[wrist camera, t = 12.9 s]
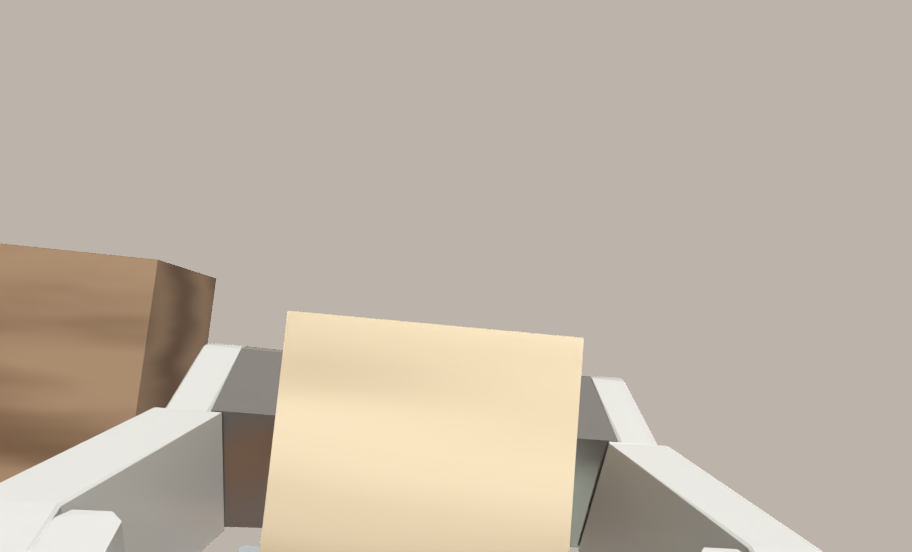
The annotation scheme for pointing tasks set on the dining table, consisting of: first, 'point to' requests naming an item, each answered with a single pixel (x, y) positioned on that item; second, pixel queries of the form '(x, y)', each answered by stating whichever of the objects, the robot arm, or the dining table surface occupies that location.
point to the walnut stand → (89, 345)
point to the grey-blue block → (249, 549)
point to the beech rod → (421, 438)
